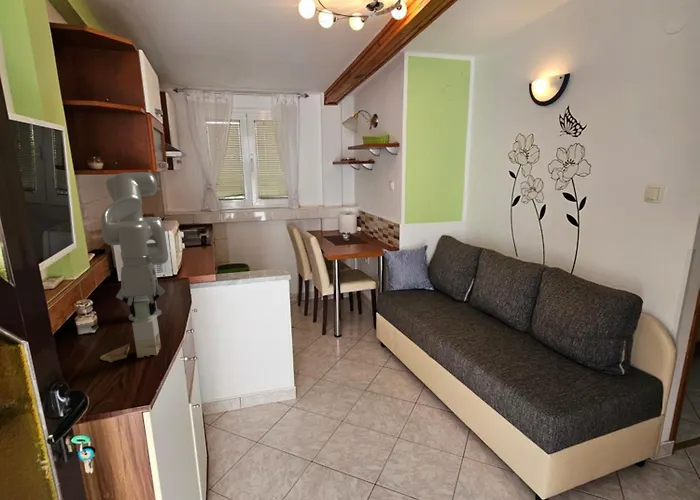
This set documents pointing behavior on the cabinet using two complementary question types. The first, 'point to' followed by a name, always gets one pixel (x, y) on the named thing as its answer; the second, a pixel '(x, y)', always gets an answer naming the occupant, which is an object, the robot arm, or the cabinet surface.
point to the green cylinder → (142, 309)
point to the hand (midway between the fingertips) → (143, 314)
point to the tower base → (148, 346)
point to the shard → (116, 354)
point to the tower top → (145, 328)
